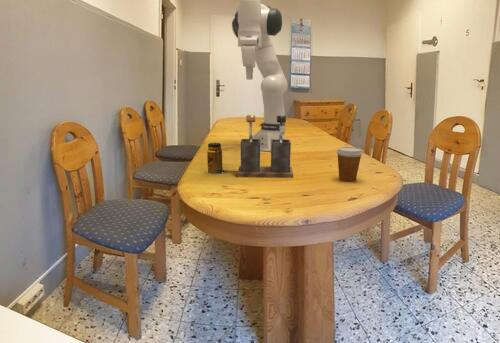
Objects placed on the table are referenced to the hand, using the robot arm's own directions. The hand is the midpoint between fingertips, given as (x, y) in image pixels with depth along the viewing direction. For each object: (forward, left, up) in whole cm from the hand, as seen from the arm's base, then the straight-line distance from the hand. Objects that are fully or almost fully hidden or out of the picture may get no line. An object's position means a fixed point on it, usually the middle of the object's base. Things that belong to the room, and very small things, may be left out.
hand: (249, 79), depth 143 cm
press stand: (+6, +3, -37) cm, 38 cm away
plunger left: (+1, 0, -26) cm, 26 cm away
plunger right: (+11, +6, -26) cm, 29 cm away
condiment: (-12, -6, -38) cm, 40 cm away
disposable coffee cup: (+37, +13, -37) cm, 54 cm away
